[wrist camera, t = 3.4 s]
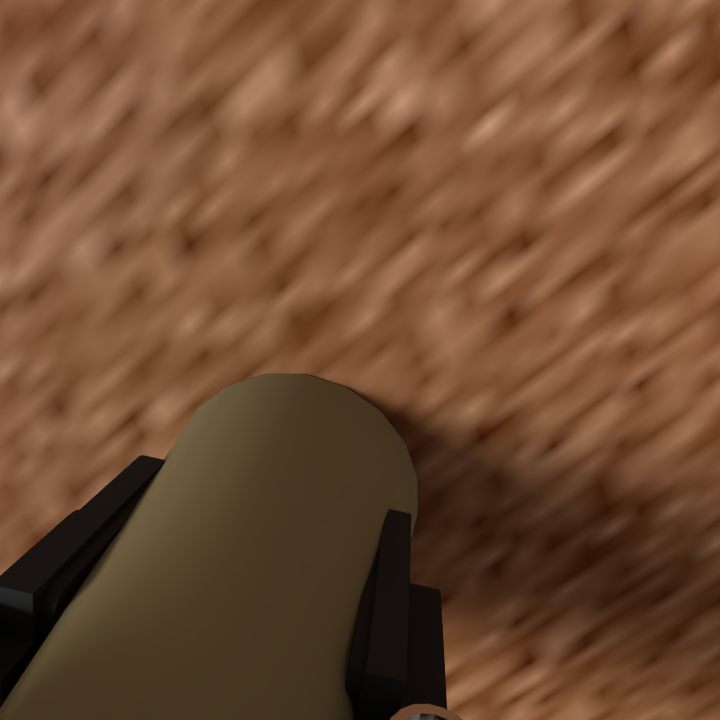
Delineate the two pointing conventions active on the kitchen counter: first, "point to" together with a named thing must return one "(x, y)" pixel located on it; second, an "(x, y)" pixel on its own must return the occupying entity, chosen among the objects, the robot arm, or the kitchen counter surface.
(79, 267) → the kitchen counter surface
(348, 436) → the cork
